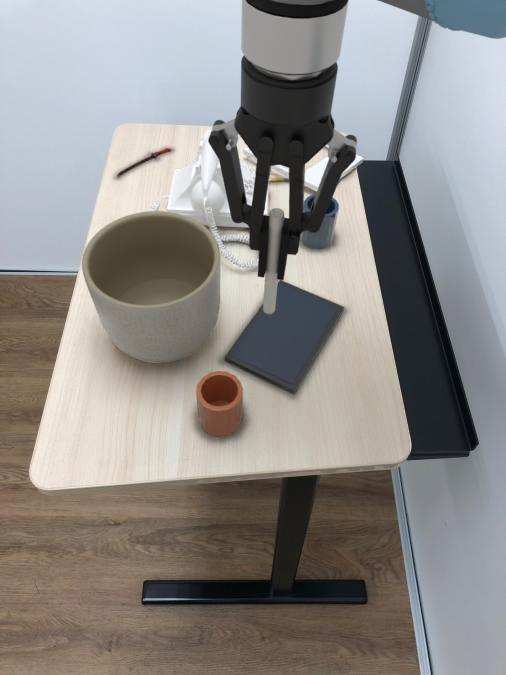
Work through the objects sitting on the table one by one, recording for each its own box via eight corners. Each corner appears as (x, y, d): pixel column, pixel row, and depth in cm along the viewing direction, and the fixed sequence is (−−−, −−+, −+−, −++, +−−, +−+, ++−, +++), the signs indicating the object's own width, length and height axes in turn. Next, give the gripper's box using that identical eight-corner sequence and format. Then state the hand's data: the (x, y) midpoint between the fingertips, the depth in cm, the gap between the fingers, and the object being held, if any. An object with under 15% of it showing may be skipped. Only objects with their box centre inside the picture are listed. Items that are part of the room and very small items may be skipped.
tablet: (343, 310, 82) (344, 306, 81) (294, 394, 73) (294, 390, 72) (279, 283, 85) (280, 279, 84) (224, 360, 76) (224, 356, 75)
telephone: (266, 274, 86) (270, 213, 76) (136, 268, 86) (123, 206, 76) (269, 176, 101) (273, 114, 91) (159, 171, 101) (150, 108, 91)
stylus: (276, 311, 67) (286, 210, 54) (271, 320, 66) (280, 219, 53) (266, 307, 67) (273, 205, 54) (260, 315, 66) (266, 214, 53)
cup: (249, 410, 71) (251, 382, 66) (228, 444, 69) (227, 418, 63) (213, 392, 73) (211, 363, 67) (191, 424, 70) (187, 397, 64)
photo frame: (362, 163, 104) (288, 128, 111) (363, 158, 104) (289, 123, 110) (320, 194, 97) (243, 154, 103) (321, 189, 96) (243, 149, 102)
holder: (337, 233, 92) (344, 200, 87) (324, 253, 89) (330, 221, 84) (308, 222, 94) (312, 189, 88) (293, 241, 91) (297, 208, 85)
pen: (237, 179, 99) (237, 180, 100) (238, 182, 99) (238, 184, 100) (312, 175, 101) (311, 177, 101) (312, 179, 100) (312, 180, 101)
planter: (225, 375, 75) (223, 304, 62) (101, 382, 73) (74, 312, 61) (219, 284, 85) (216, 208, 72) (109, 289, 83) (88, 212, 71)
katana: (165, 148, 106) (165, 145, 105) (171, 151, 105) (171, 148, 105) (114, 175, 100) (113, 171, 99) (119, 178, 99) (119, 175, 99)
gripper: (385, 43, 43) (338, 254, 62) (207, 24, 44) (215, 238, 63) (384, 92, 39) (334, 303, 58) (186, 70, 40) (201, 285, 58)
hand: (272, 269), depth 60 cm, fingers closed on stylus, 1 cm apart
